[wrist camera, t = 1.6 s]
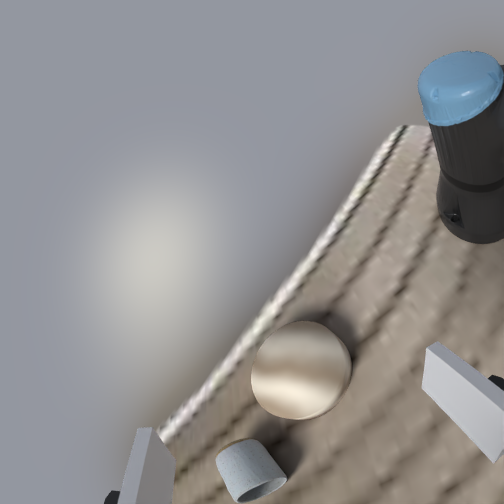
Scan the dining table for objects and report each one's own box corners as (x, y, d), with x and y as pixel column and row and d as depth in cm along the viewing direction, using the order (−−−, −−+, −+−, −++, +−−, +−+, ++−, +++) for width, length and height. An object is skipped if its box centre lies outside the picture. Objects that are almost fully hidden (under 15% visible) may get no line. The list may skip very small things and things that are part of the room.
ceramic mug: (266, 435, 34) (231, 432, 30) (298, 474, 28) (265, 480, 23) (223, 471, 34) (186, 471, 29) (248, 509, 27) (211, 516, 23)
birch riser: (283, 325, 45) (269, 316, 43) (363, 334, 35) (354, 324, 33) (254, 405, 39) (238, 401, 37) (334, 431, 29) (322, 430, 27)
